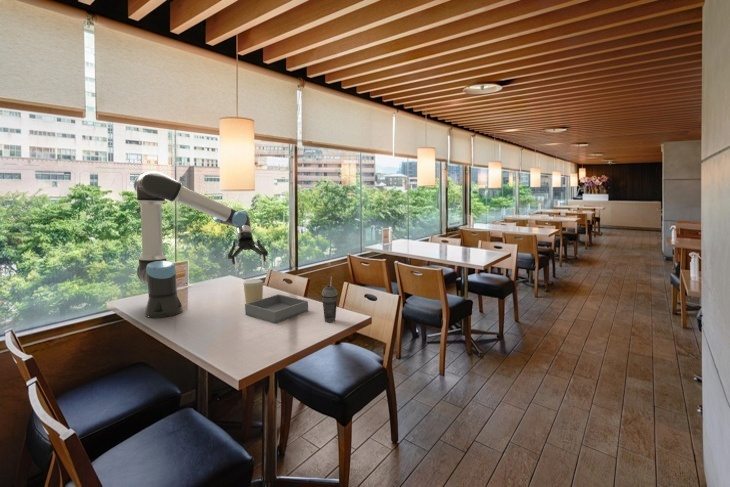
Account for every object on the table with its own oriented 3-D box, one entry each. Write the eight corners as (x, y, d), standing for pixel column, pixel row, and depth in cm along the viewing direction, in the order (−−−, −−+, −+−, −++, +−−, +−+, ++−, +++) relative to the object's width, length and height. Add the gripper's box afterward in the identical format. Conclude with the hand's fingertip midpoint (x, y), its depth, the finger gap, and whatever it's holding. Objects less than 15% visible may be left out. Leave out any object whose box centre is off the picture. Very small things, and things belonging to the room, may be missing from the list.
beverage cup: (329, 317, 168) (329, 273, 165) (341, 320, 164) (341, 275, 161) (318, 321, 163) (317, 276, 160) (330, 325, 158) (329, 278, 155)
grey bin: (275, 323, 160) (274, 312, 159) (245, 314, 171) (244, 304, 171) (308, 311, 176) (307, 301, 175) (278, 303, 188) (278, 294, 187)
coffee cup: (266, 302, 190) (265, 279, 189) (259, 307, 181) (258, 283, 179) (248, 301, 191) (247, 278, 190) (241, 307, 182) (239, 283, 180)
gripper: (267, 238, 213) (273, 269, 202) (220, 241, 203) (224, 273, 191) (268, 229, 207) (275, 261, 196) (220, 232, 197) (224, 265, 186)
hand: (250, 267), depth 194 cm, fingers open, 13 cm apart
